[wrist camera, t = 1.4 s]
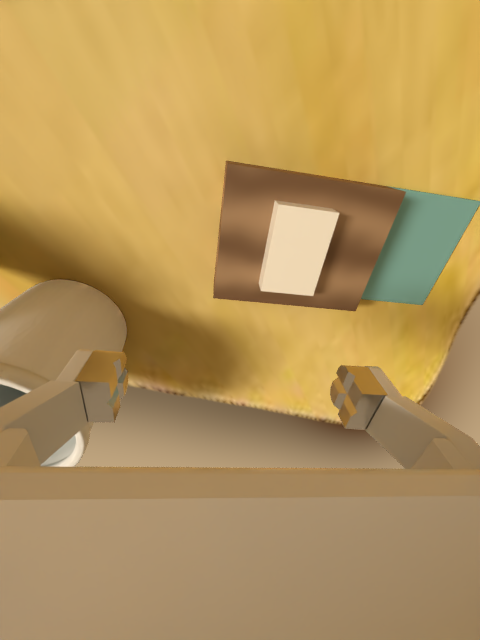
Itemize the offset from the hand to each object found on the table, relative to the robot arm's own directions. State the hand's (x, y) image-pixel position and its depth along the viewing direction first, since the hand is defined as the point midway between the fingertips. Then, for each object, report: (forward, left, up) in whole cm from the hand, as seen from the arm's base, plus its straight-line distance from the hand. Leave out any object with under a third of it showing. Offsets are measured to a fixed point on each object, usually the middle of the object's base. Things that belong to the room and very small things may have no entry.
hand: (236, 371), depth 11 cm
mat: (+1, +24, -25) cm, 35 cm away
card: (+1, +8, -21) cm, 23 cm away
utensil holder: (+16, -18, -25) cm, 35 cm away
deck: (+1, +9, -25) cm, 27 cm away
